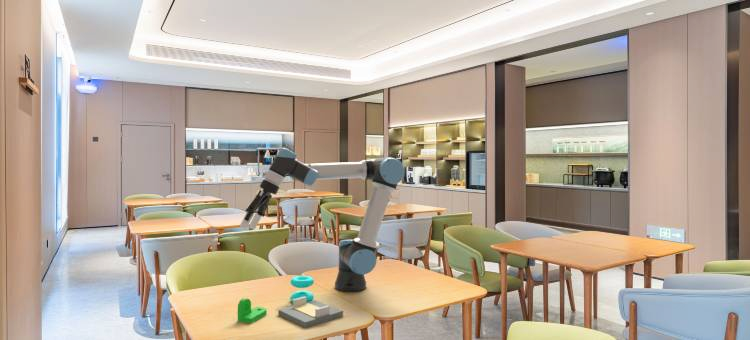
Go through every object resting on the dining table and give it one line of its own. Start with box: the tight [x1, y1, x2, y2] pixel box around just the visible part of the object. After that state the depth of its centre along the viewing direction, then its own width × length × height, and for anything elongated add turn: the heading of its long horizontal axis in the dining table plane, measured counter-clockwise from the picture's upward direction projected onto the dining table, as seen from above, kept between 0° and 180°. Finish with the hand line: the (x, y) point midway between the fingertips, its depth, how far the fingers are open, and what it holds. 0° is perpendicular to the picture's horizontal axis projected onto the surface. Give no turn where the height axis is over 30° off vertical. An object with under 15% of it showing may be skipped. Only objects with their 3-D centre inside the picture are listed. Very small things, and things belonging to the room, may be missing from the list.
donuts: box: [290, 275, 315, 303], centre depth 192 cm, size 10×10×10 cm
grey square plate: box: [277, 297, 344, 329], centre depth 174 cm, size 18×18×5 cm
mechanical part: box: [237, 297, 267, 324], centre depth 172 cm, size 12×6×8 cm, turn 159°
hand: (247, 228), depth 183 cm, fingers open, 13 cm apart
